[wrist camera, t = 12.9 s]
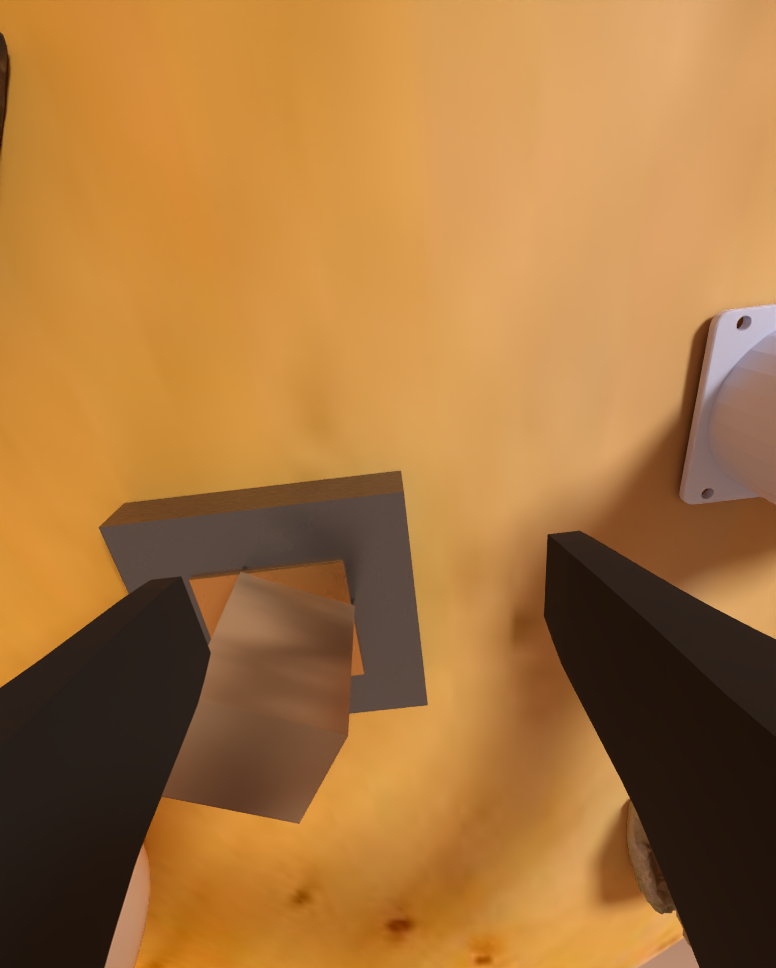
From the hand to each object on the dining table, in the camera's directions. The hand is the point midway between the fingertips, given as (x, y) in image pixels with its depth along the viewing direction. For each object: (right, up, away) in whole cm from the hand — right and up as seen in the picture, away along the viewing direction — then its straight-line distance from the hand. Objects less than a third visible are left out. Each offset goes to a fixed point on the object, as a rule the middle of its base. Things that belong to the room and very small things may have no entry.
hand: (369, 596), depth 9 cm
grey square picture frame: (-4, -3, +13) cm, 14 cm away
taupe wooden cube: (-4, -4, +11) cm, 13 cm away
